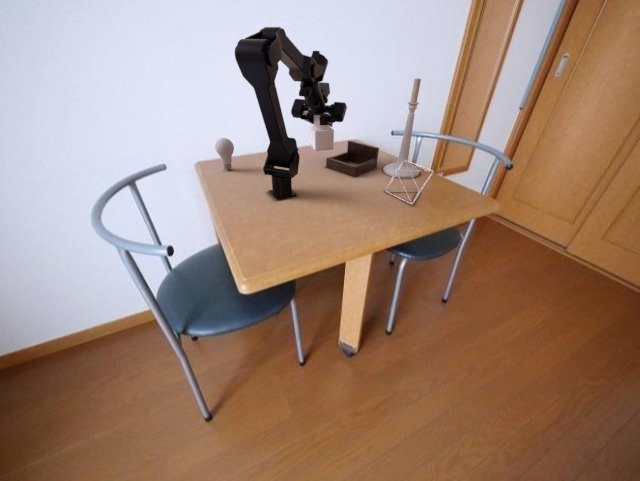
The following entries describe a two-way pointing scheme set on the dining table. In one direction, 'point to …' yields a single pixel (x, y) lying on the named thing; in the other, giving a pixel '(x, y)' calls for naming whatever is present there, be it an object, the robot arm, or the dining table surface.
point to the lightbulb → (225, 151)
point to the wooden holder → (354, 159)
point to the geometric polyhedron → (402, 183)
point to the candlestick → (406, 141)
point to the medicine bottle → (321, 134)
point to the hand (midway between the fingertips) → (323, 125)
